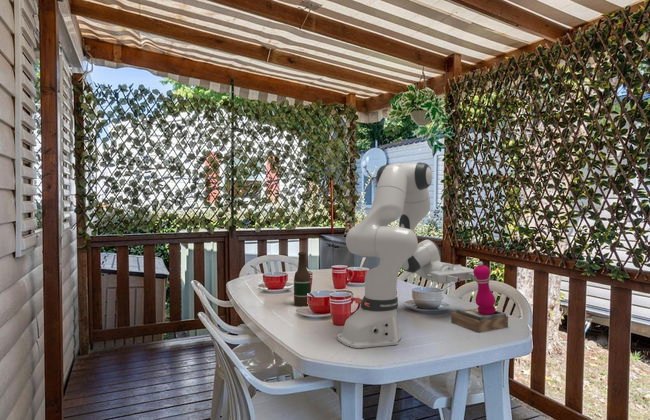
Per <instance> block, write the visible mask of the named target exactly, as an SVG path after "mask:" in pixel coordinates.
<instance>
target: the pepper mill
mask: <svg viewBox="0 0 650 420" xmlns="http://www.w3.org/2000/svg"><path fill="white" fill-rule="evenodd" d="M477 264H478V265H477V266H474V271H473V273H474V276H475V277H476V280H475V282H476V283H477V293H476V295H475V304H476V305H477V308H478V312H479V313H480V314H483V315H489V314H493V313H495V310H496V306H495V304H496V298H495V297H496V296H494V294H493V292H492V290H491V289H490V277H489V276H490V275H491V271H490V268H489V267H488V266H487V265H484V263H483V261H478V263H477Z"/></svg>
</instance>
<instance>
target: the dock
mask: <svg viewBox="0 0 650 420" xmlns="http://www.w3.org/2000/svg"><path fill="white" fill-rule="evenodd" d="M450 315H451V316H450V317H451V318H450V319H451V322H450V323H451V324H454V325H458V326H459V327H463V328H466V329H469V330H470V331H473V332H476V333H482V332H487V331H488V332H489V331H493V330H499V328H500V329H504V327H505V328H509V316H508V315H507V313H506V312H502V311H499V310H496V309H495V313H493V314H489V315H483V314H480V313H479V312H478V307H477V308H471V309H465V310H461V309H456V310H455V311H451V314H450Z"/></svg>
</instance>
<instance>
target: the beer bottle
mask: <svg viewBox="0 0 650 420" xmlns="http://www.w3.org/2000/svg"><path fill="white" fill-rule="evenodd" d="M297 266H298V267H297V270H296V272H295V274H294V277H293V305H294V306H296V307H299V306H300V307H302V306H305V307H308V304H307V293H310V292H311V291H312V289H311V287H312V283H311V281H312V279H311V274H310V272H309V271H308V268H307V252H306V251H299V252H298V265H297ZM311 293H312V292H311ZM300 307H299V308H300Z"/></svg>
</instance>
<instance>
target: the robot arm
mask: <svg viewBox="0 0 650 420" xmlns="http://www.w3.org/2000/svg"><path fill="white" fill-rule="evenodd" d="M375 178H376V183H377V184H376V188H375V194H374V196H373V197H374V198H373V201H372V203H371V207H370V209H369V211H368V213H367V214H366V215H365V217H364V218H363V219H362V220H361V221H360V222H358V223H357V224H356V225H354V226H353V227H351V228H350V229H349V230H348V231H347V233H346V236H345V245H346V248H347V250H348V251H349V253H351V254H353V255H357V256H360V257H368V258H380V259H379V264H378V265H377V266H375V267H373V268H371V269H370V270H368V271H367V272H366V274H365V276H364V296H363V298H362V299H361V298H359V297H356V298H355V299H354V302H355V304H357V305H360V307H359V308H358V309H357V310H356V311H355V312H354V313H352V314H351V315H350V316H349V317H348V318H347V319H346V320H345V321H344V322H345V323H344V325H343V332H341V333H340V332H339V333H338V334H337V335H336V339H337V341H338V342H340V343H341V342H342V343H341V344H343V345H345V346H347V347H349V346H350V347H349V348H352V349H361V348H362V349H363V348H375V347H385V346H387V347H388V346H393V345H395V346H396V345H399V341H401V339H402V335H401V332H400V327H399V319H398V308H399V299H398V296H397V292H398V291H397V287H398V276H399V272H400V270H401V269H402V270H403V271H405V272H406V273H412V274H414V273H415V274H416V275H417V276H419V277H420V278H423V279H425V280H427V281H431V282H434V283H436V284H437V283H438V284H442V285H448V284H450V283H452V282H454V283H459V282H461V281H468V280H469V281H470V280H473V281H476V277H475V276H474V273H473V271H474V269H473V268H471V267H467V266H462V264H460V263H459V264H457V263H449V262H444V261H443V262H442V257H441V249H440V247H439V245H438V244H437V243H436V242H435V241H433V240H431V239H428V238H427V239H425V240H422V241H420V242H419V241H418V237H417V234H416V233H415V229H416V228H417V226H418V225H419V223H420V222H421V221H422V220H423V219H424V218H425V217H426V216H427V215H428V214H429V212H430V210H431V198H430V194H429V189H428V188H429V187H430V186H431V185H432V181H433V171H432V168H431V166H430V165H429V164H428V163H427V162H398V163H392V164H384V165H381V166H380V167H379V168H378V170H377V171H376V177H375ZM397 220H398V226H389V225H390V224H392V223H393V222H396V221H397Z"/></svg>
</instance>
